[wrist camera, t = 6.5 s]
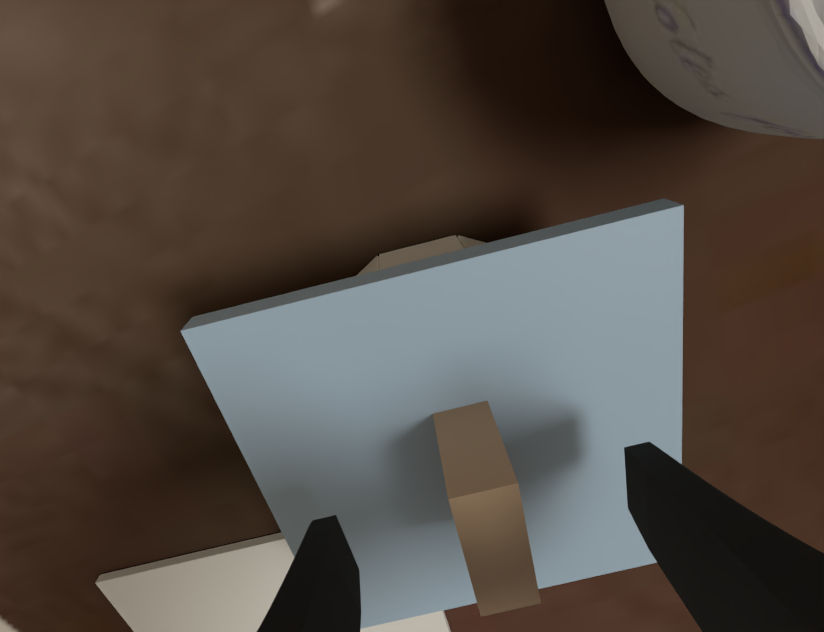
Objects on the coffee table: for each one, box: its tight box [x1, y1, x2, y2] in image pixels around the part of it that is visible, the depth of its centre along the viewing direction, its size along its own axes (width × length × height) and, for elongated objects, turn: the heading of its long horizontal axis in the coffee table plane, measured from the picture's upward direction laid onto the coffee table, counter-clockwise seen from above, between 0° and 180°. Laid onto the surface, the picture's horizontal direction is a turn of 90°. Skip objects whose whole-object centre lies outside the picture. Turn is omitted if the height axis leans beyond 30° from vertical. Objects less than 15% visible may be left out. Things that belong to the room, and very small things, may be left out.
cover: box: [181, 199, 684, 629], centre depth 12 cm, size 12×12×4 cm
